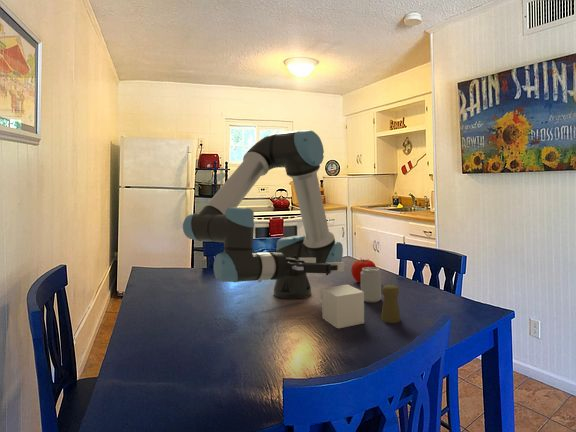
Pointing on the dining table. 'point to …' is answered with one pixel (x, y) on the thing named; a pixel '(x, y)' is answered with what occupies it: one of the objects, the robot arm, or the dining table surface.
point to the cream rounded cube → (343, 306)
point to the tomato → (360, 268)
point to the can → (371, 284)
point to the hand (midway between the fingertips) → (328, 264)
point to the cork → (390, 304)
